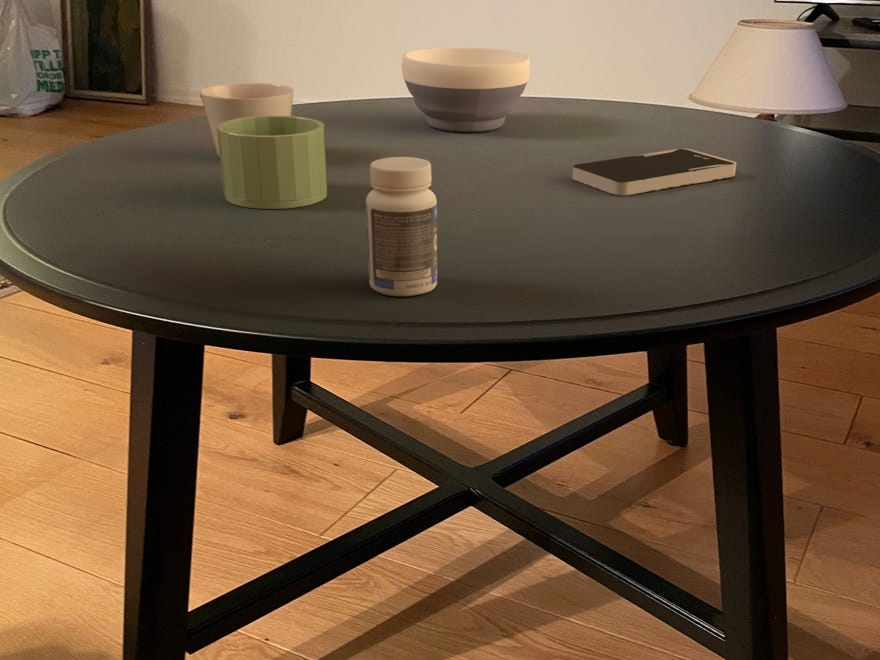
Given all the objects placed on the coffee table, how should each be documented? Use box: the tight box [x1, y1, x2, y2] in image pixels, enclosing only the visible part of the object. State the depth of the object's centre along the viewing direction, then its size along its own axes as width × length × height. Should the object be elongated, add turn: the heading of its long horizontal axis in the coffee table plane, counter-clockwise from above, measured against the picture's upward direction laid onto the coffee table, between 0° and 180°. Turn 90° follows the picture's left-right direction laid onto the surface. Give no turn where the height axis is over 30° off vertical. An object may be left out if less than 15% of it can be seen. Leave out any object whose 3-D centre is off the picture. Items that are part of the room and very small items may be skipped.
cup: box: [217, 115, 329, 210], centre depth 90 cm, size 9×9×6 cm
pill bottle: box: [365, 156, 438, 297], centre depth 69 cm, size 5×5×8 cm
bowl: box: [401, 46, 531, 134], centre depth 117 cm, size 14×14×8 cm
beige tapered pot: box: [199, 82, 294, 158], centre depth 102 cm, size 9×9×6 cm
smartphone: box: [572, 148, 737, 197], centre depth 99 cm, size 8×1×15 cm
